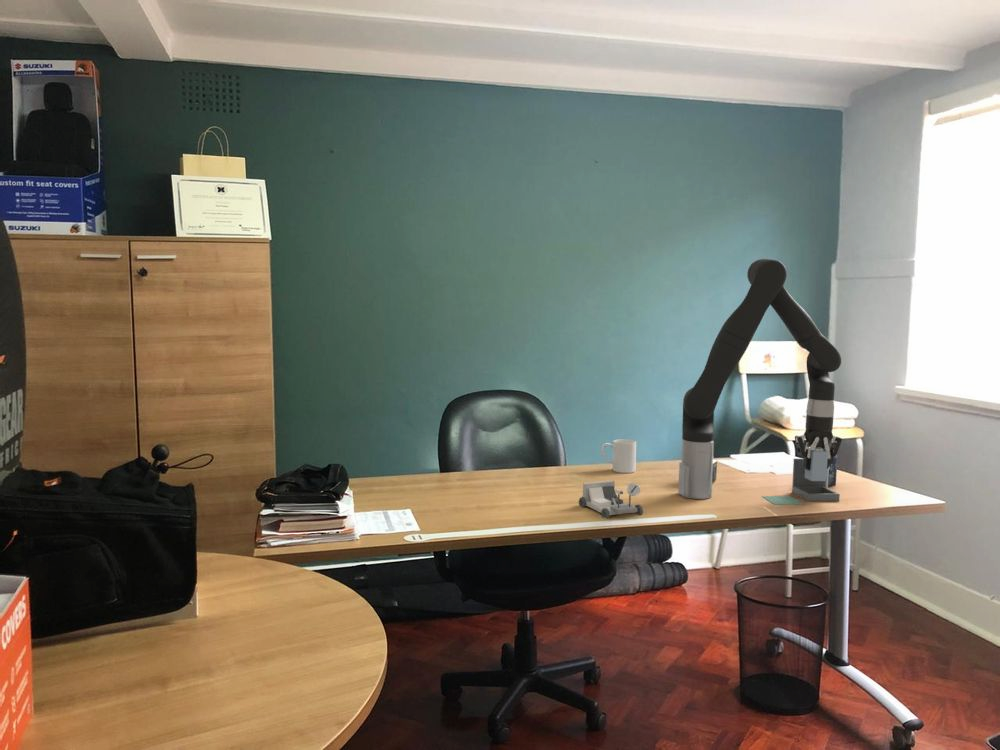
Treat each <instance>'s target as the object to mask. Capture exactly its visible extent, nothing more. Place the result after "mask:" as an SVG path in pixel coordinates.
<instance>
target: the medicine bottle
mask: <svg viewBox="0 0 1000 750" xmlns="http://www.w3.org/2000/svg"><path fill="white" fill-rule="evenodd" d="M714 453H715V448H714V447H713V457H714V455H715V454H714ZM717 467H718V460H717V459H713V470H712V485H713V484H714V483H715V482H716V481H717V470H718V468H717Z"/></svg>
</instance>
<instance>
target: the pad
mask: <svg viewBox="0 0 1000 750" xmlns="http://www.w3.org/2000/svg"><path fill="white" fill-rule="evenodd" d="M761 497H762V498H763V499H765V500H766V501H768V502H769V503H771V504H773V505H774V506H775V505H777V506H778V505H782V506H783V505H784V506H785V505H786V506H787V505H788V506H789V505H793V506H794V505H796V506H797V505H800V506H802V505H805V503H803V502H801V501H800V500H799V499H797V498H794V496H791V495H781V496H780V495H779V496H778V495H771V496H770V495H769V496H768V495H762V496H761Z"/></svg>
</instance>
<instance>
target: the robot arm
mask: <svg viewBox="0 0 1000 750" xmlns="http://www.w3.org/2000/svg"><path fill="white" fill-rule="evenodd" d="M787 275H788V274H787V268H786V266H785V265H784V263H782V261H780V260H776V259H772V258H771V259H770V258H761V259H757V260H755V261H753V262H752V263H751V264H750V265H749V267H748V268H747V279H748V282H749V284H750V287H749V289H748V291H747V293H746V295H745V296H744V299H743V300H742V302H741V303H740V304H739V305H738V307H737V308H736V309H735V310H734V311H733V312H732V313H731V314H730V315H729V316H728V318H726V320H725V322H724V323H723V325H722V326H721V328H720V330H719V332H718V334H717V336H716V338H715V339H714V341H713V344H712V346H711V348H710V351H709V354H708V356H707V357H708V358H707V361H706V363H705V366H704V369H703V371H702V373H701V374H700V376H699V378H698V379H697V381H696V382H695V384H694V385H693V387H691V388H689V389H688V390H687V391H686V392H685V394H684V397H683V402H682V428H681V429H682V430H681V431H682V434H681V435H682V436H681V437H682V438H681V440H682V441H681V461H680V462H679V465H678V494H679V495H681V497H682V498H687V499H696V500H706V499H710V498H712V494H713V493H712V492H713V488H712V487H713V484H712V470H713V460H714V456H713V448H714V447H715V446H714V445H715V442H714V439H715V429H714V428H715V426H714V425H715V424H714V423H715V410H716V407H717V404H718V402H719V399H720V397H721V394H722V391H723V390H724V387H725V385H726V384H727V381H728V380H729V378H730V377H731V375H732V374H733V372H734V371H735V370H736V368H737V366H738V365H739V363H740V361H741V359H742V358H743V356H744V355H745V353H746V351H747V349H748V347H749V345H750V343H751V342H752V339H753V338H754V335H755V334H756V331H757V330H758V328H759V326H760V324H761V322H762V320H763V317H764V316H765V314H766V312H767V310H768V309H769V307H770V306H771V307H772V309H773V310H774V311H775V313H776V315H777V316H779V318H780V320H781V321H782V323H783V324H784V326H785V327H786V328H787V330H788V331H789V333H790V334H791V336H792V337H793V339H794V340H795V342H796V344H797V345H798V346H800V348H802V349H804V350H806V351H807V352H808V354H807V358H806V371H807V372H806V373H807V379H808V384H809V386H808V387H809V388H808V401H807V404H806V405H807V406H806V411H805V412H806V413H805V415H806V416H805V431H804V432H803V433H804V434H802V435H795V436H794V441H795V442H794V443H795V446H796V450H797V451H796V452H797V454H798V455H800V456H802V457H803V459H804V465H803V466H804V467H805V469H806V470H810V467H811V455H812V451H814V450H815V448H818V447H820V448H822V449H823V450H824V451H828V461H827V469H828V468H829V459H830V457H833V456H834V457H835V456H836V455H838V452H839V448H840V446H841V444H842V441H843V439H842V437H839V436H834V434H833V427H834V414H835V400H834V399H835V383H834V382H833V381H832V380H831V379H830V373H832V372H833V373H834V372H836V371H837V370H839V368H841V367H840V366H841V365H842V357H841V354H840V352H839V351H838V348H836V346H835V345H834V344H833V343H831V341H829V339H828V338H827V337H826V336H824V335H823V334H822V333H821V331H820V330H819V328H818V327H817V325H816V323H815V322H814V320H813V318H812V317H811V316H810V315H809V314H808V312H807V311H806V310H805V309H804V308H803V307H802V306H801V305H800V304H799V303H798V302H797V301H796V300H795V299H794V298H793V297H792V295H791V294H790V293H789V292H788V290H787V289H786V287H785V283H786V279H787ZM805 441H806V444H805V445H804V443H805ZM830 442H831V445H830V446H829V443H830Z"/></svg>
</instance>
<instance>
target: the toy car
mask: <svg viewBox="0 0 1000 750" xmlns="http://www.w3.org/2000/svg"><path fill="white" fill-rule="evenodd" d="M615 485H616V483H615V480H604V481H595V482H592V481H591V482H585V483H583V484H582V497H579V499H578V505H579V506H580V507H582V508H586V507H587V508H588V507H589V508H591V509H592V510H594V511H597V512H598V513H600V514H601V517H602V518H603V519H606V520H607V519H609V518H610V516H613V515H614V516H615V515H616V516H617V515H623V514H632V513H635V514H637V515H639V516H640V515H642V514H643V513H644V510H643V507H642V505H641V504H638V503H637V504H635V505H631V503H632V502H631V499H632V497H636V496H639V495H640V494H641V492H642V489H641V487H640V485H639V484H637V483H636V482H629V483H628V484H627V489H626V491H627V494H628V496H629V497H628V503H627V502H624V500H623V499H622V498H620V495H624V492H623V490H622V489H620V488H615Z"/></svg>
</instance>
